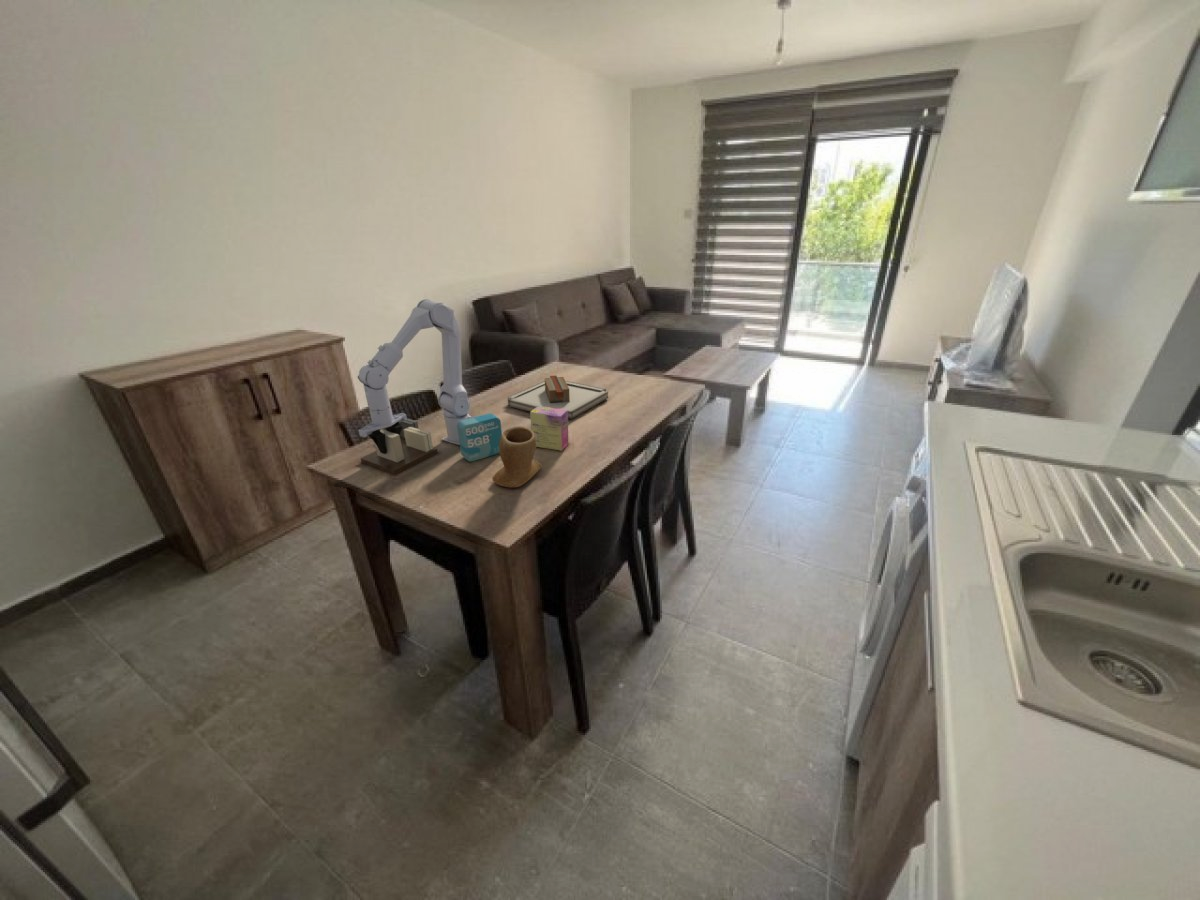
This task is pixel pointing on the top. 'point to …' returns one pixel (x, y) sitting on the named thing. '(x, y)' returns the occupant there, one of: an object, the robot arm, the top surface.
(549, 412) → the box
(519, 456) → the stone cup
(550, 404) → the grey square tray
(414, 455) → the shelf board
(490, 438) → the data package
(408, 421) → the grey books
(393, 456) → the white book
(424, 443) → the cream books
